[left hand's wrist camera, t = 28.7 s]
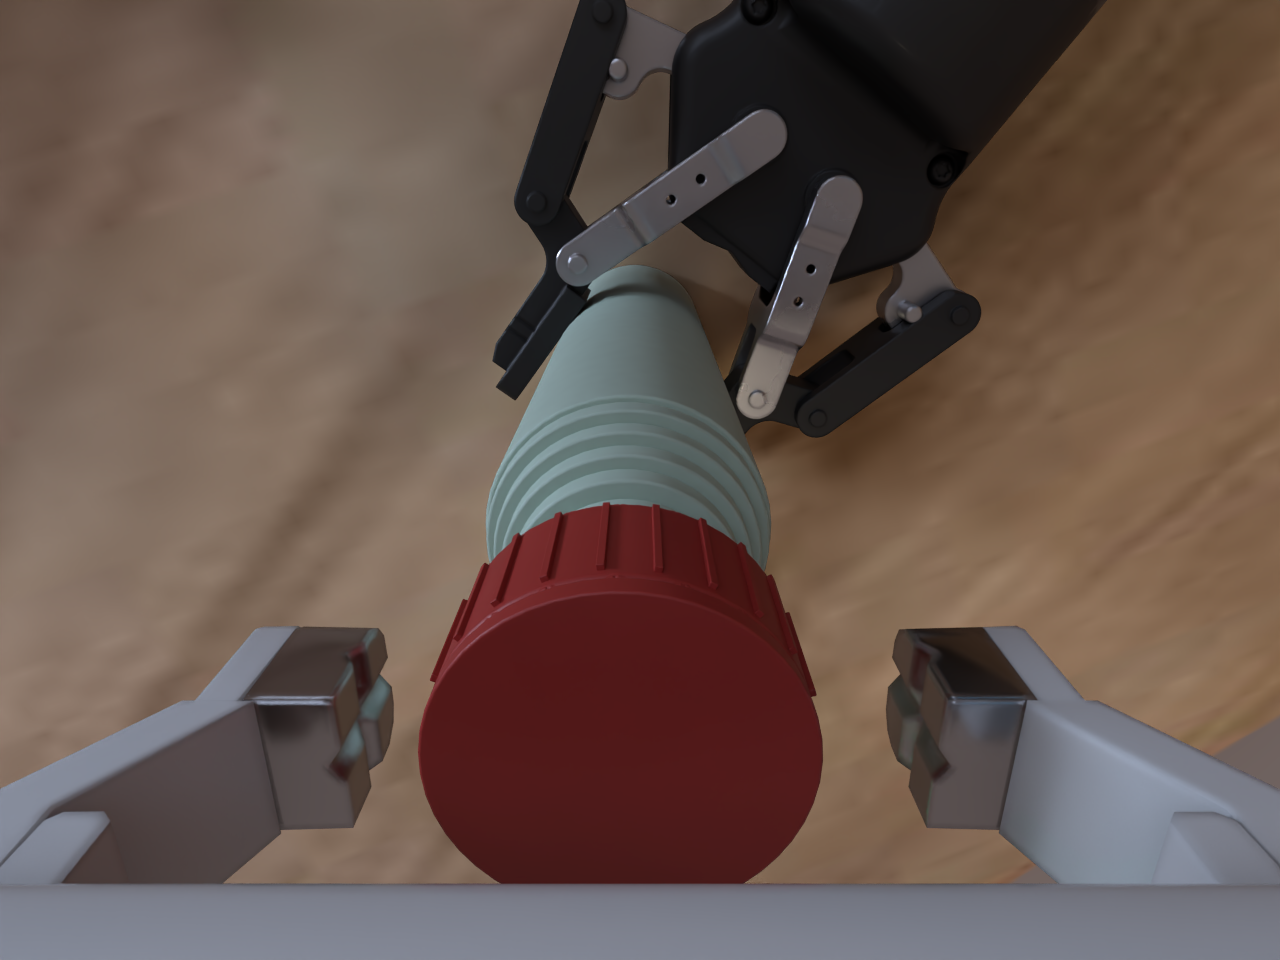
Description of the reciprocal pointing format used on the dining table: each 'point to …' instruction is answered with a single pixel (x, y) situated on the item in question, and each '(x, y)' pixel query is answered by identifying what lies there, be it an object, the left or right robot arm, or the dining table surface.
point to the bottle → (632, 421)
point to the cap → (621, 708)
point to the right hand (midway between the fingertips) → (584, 437)
